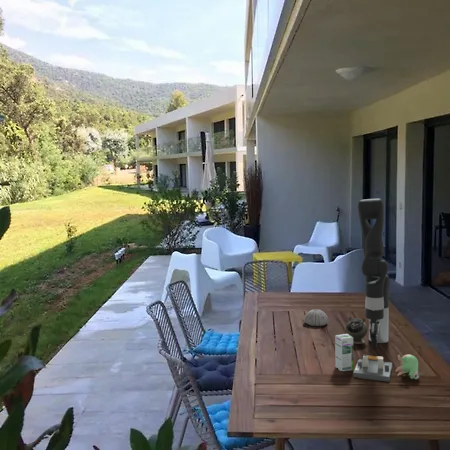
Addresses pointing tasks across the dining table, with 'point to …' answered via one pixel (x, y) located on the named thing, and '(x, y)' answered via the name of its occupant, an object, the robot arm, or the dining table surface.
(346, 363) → the syrup box
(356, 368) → the breaker panel
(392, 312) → the dining table surface
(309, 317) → the sea urchin shell
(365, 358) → the breaker paddles
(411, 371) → the frog
